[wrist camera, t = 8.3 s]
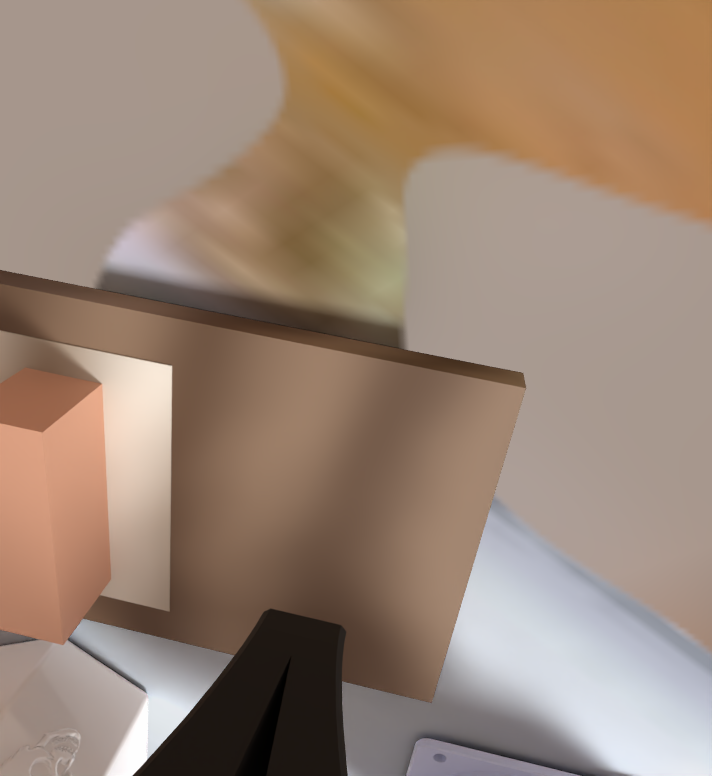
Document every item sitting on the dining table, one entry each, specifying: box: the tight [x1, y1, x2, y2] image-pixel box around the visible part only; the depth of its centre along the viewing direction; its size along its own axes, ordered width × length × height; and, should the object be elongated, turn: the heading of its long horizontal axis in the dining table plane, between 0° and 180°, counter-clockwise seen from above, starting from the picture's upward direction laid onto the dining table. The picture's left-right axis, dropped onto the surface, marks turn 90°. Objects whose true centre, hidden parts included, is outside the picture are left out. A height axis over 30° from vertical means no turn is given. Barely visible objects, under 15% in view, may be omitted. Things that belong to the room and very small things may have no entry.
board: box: [0, 270, 526, 703], centre depth 21 cm, size 20×13×1 cm, turn 82°
